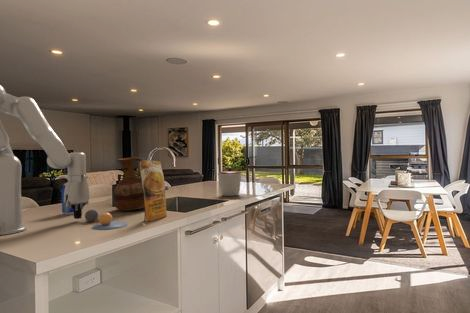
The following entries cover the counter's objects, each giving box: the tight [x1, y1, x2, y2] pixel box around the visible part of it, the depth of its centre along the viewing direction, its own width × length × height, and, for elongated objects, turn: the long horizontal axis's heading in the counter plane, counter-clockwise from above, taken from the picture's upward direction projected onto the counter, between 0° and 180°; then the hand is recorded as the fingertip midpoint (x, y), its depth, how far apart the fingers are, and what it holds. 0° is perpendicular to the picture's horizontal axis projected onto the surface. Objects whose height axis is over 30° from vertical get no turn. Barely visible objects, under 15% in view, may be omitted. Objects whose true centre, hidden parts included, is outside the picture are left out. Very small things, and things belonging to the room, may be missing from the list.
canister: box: [217, 166, 243, 197], centre depth 222 cm, size 18×18×21 cm
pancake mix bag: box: [138, 159, 168, 222], centre depth 143 cm, size 7×19×28 cm, turn 157°
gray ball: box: [84, 209, 99, 223], centre depth 138 cm, size 6×6×6 cm
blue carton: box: [61, 183, 74, 216], centre depth 159 cm, size 8×8×16 cm
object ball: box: [98, 212, 113, 225], centre depth 130 cm, size 6×6×6 cm
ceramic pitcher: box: [113, 156, 145, 211], centre depth 169 cm, size 20×20×30 cm
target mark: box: [91, 221, 128, 231], centre depth 129 cm, size 14×14×1 cm
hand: (77, 218), depth 139 cm, fingers closed
